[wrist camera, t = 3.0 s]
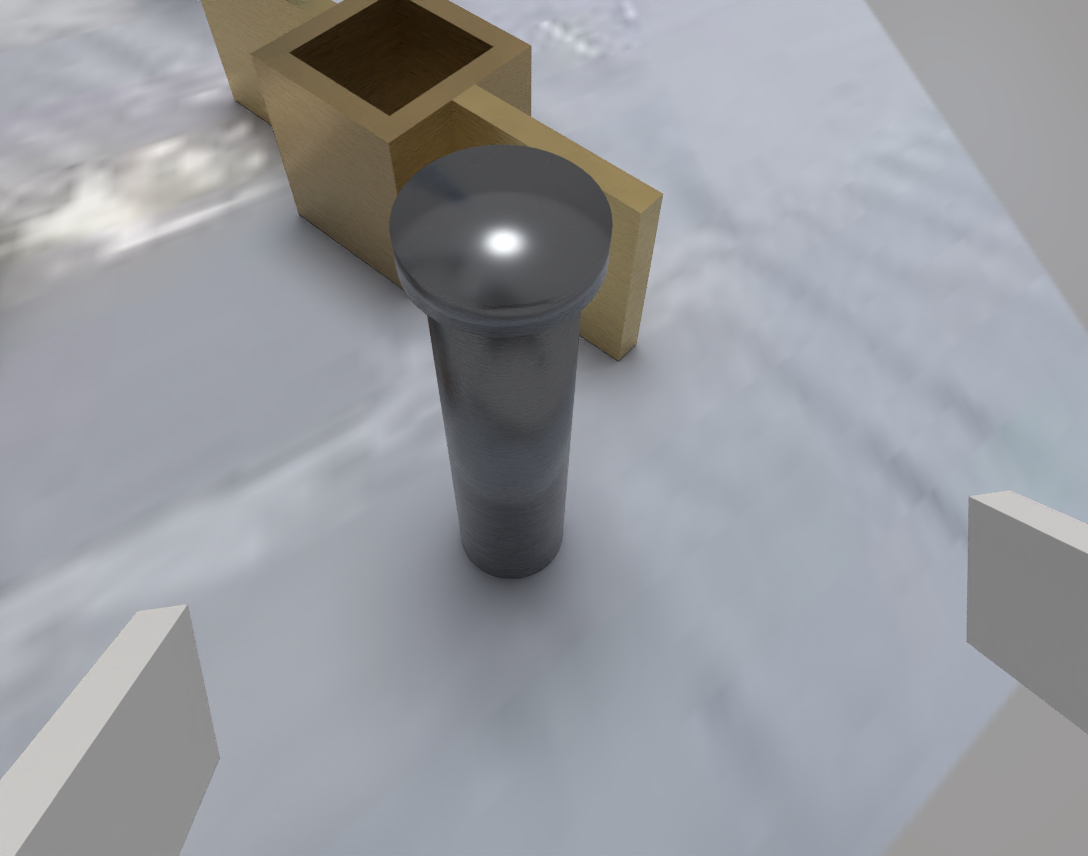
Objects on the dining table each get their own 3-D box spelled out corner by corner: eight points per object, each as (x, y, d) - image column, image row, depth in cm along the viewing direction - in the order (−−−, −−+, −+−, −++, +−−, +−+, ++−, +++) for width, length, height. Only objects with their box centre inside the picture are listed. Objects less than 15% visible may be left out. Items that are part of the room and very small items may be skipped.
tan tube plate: (183, 130, 41) (115, -33, 35) (300, 60, 44) (260, -103, 38) (569, 409, 33) (579, 266, 26) (681, 300, 36) (716, 146, 29)
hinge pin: (420, 536, 30) (341, 225, 17) (507, 451, 32) (494, 116, 19) (517, 618, 29) (509, 344, 16) (603, 525, 30) (657, 213, 18)
